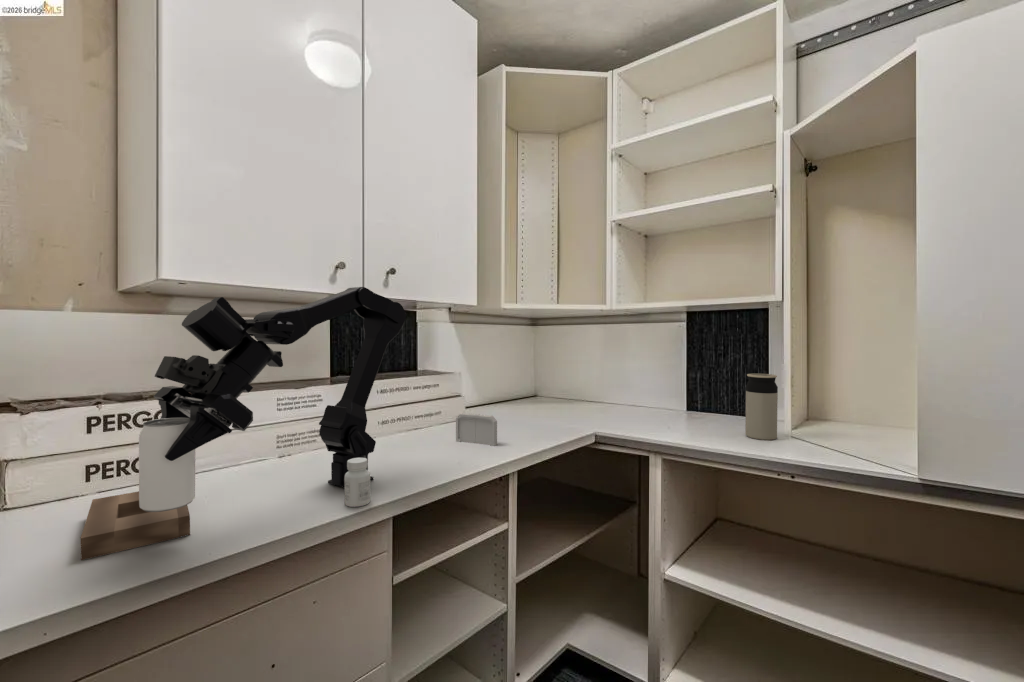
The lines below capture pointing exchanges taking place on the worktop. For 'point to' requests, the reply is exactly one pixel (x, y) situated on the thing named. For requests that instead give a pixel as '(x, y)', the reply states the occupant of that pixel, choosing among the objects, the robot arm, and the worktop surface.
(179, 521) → the socket block
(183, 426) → the can
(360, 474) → the pill bottle
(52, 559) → the worktop surface
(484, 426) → the gray double door
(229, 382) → the robot arm
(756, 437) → the travel mug
